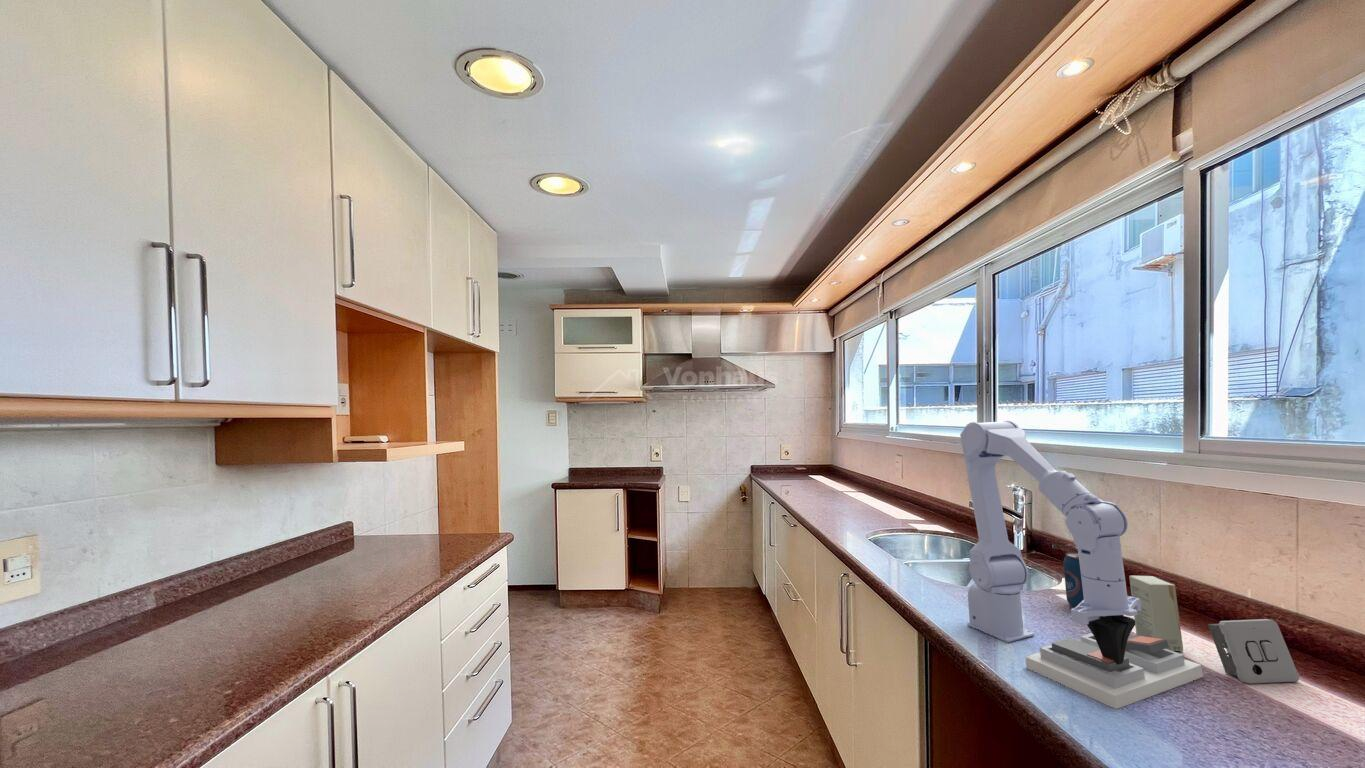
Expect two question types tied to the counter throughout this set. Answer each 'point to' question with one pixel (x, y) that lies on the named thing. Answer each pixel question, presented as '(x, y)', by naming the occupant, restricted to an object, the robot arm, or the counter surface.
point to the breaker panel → (1117, 674)
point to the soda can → (1073, 579)
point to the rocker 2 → (1145, 644)
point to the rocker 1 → (1087, 654)
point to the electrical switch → (1254, 651)
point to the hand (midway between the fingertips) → (1113, 661)
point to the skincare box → (1157, 610)
